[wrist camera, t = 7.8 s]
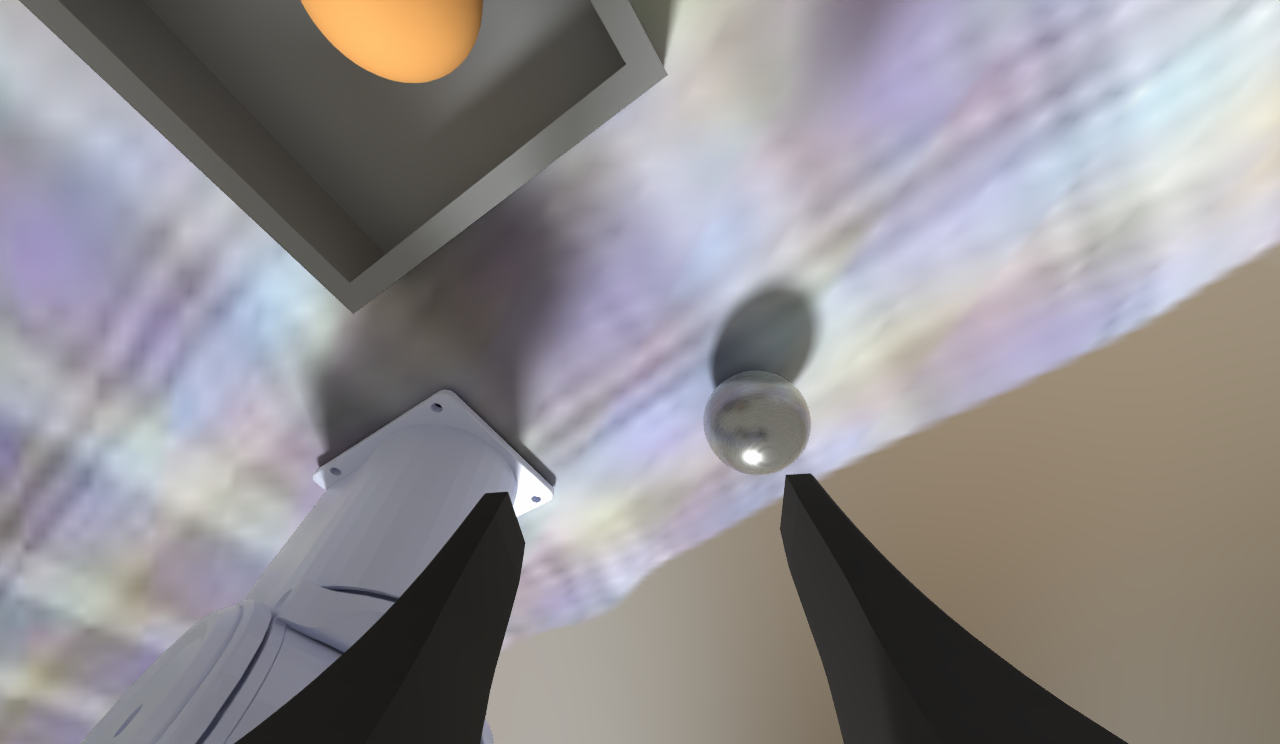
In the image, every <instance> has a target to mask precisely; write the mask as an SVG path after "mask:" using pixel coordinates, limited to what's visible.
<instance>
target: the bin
mask: <svg viewBox="0 0 1280 744" xmlns="http://www.w3.org/2000/svg"><path fill="white" fill-rule="evenodd" d="M19 1H20V2H21V3H22V4H23V5H25V6H26V7H27V8H28V9H29V10H30V11H31V12H32V13H33V14H34V15H35V16H36V17H37V18H38V19H39V20H41V21H42V22H43V23H44V24H45V25H46V26H47V27H48V28H49V29H50V30H51V31H52V32H53V33H54V34H55V35H57V36H58V37H59V38H60V39H61V40H62V41H63V42H64V43H65V44H66V45H67V46H68V47H69V48H70V49H71V50H73V51H74V52H75V53H76V54H77V55H78V56H79V57H80V58H81V59H82V60H83V61H84V62H85V63H86V64H87V65H89V66H90V67H91V68H92V69H93V70H94V71H95V72H96V73H97V74H98V75H99V76H100V77H101V78H102V79H103V80H105V81H106V82H107V83H108V84H109V85H110V86H111V87H112V88H113V89H114V90H115V91H116V92H117V93H118V94H119V95H121V96H122V97H123V98H124V99H125V100H126V101H127V102H128V103H129V104H130V105H131V106H132V107H133V108H134V109H135V110H137V111H138V112H139V113H140V114H141V115H142V116H143V117H144V118H145V119H146V120H147V121H148V122H149V123H150V124H151V125H153V126H154V127H155V128H156V129H157V130H158V131H159V132H160V133H161V134H162V135H163V136H164V137H165V138H166V139H167V140H169V141H170V142H171V143H172V144H173V145H174V146H175V147H176V148H177V149H178V150H179V151H180V152H181V153H182V154H183V155H185V156H186V157H187V158H188V159H189V160H190V161H191V162H192V163H193V164H194V165H195V166H196V167H197V168H198V169H199V170H201V171H202V172H203V173H204V174H205V175H206V176H207V177H208V178H209V179H210V180H211V181H212V182H213V183H214V184H215V185H216V186H218V187H219V188H220V189H221V190H222V191H223V192H224V193H225V194H226V195H227V196H228V197H229V198H230V199H231V200H232V201H234V202H235V203H236V204H237V205H238V206H239V207H240V208H241V209H242V210H243V211H244V212H245V213H246V214H247V215H248V216H250V217H251V218H252V219H253V220H254V221H255V222H256V223H257V224H258V225H259V226H260V227H261V228H262V229H263V230H264V231H266V232H267V233H268V234H269V235H270V236H271V237H272V238H273V239H274V240H275V241H276V242H277V243H278V244H279V245H280V246H282V247H283V248H284V249H285V250H286V251H287V252H288V253H289V254H290V255H291V256H292V257H293V258H294V259H295V260H296V261H298V262H299V263H300V264H301V265H302V266H303V267H304V268H305V269H306V270H307V271H308V272H309V273H310V274H311V275H312V276H314V277H315V278H316V279H317V280H318V281H319V282H320V283H321V284H322V285H323V286H324V287H325V288H326V289H327V290H328V291H330V292H331V293H332V294H333V295H334V296H335V297H336V298H337V299H338V300H339V301H340V302H341V303H342V304H343V305H344V306H346V307H347V308H348V309H349V310H350V311H351V312H352V313H353V314H354V313H355V312H356V311H358V310H359V309H360V308H362V307H363V306H364V305H366V304H367V303H368V302H370V301H371V300H372V299H374V298H375V297H376V296H377V295H379V294H380V293H381V292H383V291H384V290H385V289H387V288H388V287H389V286H391V285H392V284H393V283H395V282H396V281H397V280H399V279H400V278H401V277H402V276H404V275H405V274H406V273H408V272H409V271H410V270H412V269H413V268H414V267H416V266H417V265H418V264H420V263H421V262H422V261H423V260H425V259H426V258H427V257H429V256H430V255H431V254H433V253H434V252H435V251H437V250H438V249H439V248H441V247H442V246H443V245H445V244H446V243H447V242H448V241H450V240H451V239H452V238H454V237H455V236H456V235H458V234H459V233H460V232H462V231H463V230H464V229H466V228H467V227H468V226H470V225H471V224H472V223H473V222H475V221H476V220H477V219H479V218H480V217H481V216H483V215H484V214H485V213H487V212H488V211H489V210H491V209H492V208H493V207H495V206H496V205H497V204H498V203H500V202H501V201H502V200H504V199H505V198H506V197H508V196H509V195H510V194H512V193H513V192H514V191H516V190H517V189H518V188H520V187H521V186H522V185H523V184H525V183H526V182H527V181H529V180H530V179H531V178H533V177H534V176H535V175H537V174H538V173H539V172H541V171H542V170H543V169H545V168H546V167H547V166H548V165H550V164H551V163H552V162H554V161H555V160H556V159H558V158H559V157H560V156H562V155H563V154H564V153H566V152H567V151H568V150H570V149H571V148H572V147H573V146H575V145H576V144H577V143H579V142H580V141H581V140H583V139H584V138H585V137H587V136H588V135H589V134H591V133H592V132H593V131H595V130H596V129H597V128H598V127H600V126H601V125H602V124H604V123H605V122H606V121H608V120H609V119H610V118H612V117H613V116H614V115H616V114H617V113H618V112H620V111H621V110H622V109H623V108H625V107H626V106H627V105H629V104H630V103H631V102H633V101H634V100H635V99H637V98H638V97H639V96H641V95H642V94H643V93H645V92H646V91H647V90H648V89H650V88H651V87H652V86H654V85H655V84H656V83H658V82H659V81H660V80H662V79H663V78H664V77H666V76H667V75H668V74H667V72H666V71H665V69H664V67H663V65H662V63H661V61H660V59H659V57H658V55H657V53H656V51H655V50H654V48H653V46H652V44H651V42H650V40H649V38H648V36H647V34H646V32H645V31H644V29H643V27H642V25H641V23H640V21H639V19H638V17H637V15H636V13H635V12H634V10H633V8H632V6H631V4H630V2H629V0H483V11H482V20H481V26H480V30H479V34H478V37H477V40H476V42H475V44H474V46H473V48H472V50H471V52H470V53H469V55H468V56H467V58H466V59H465V60H464V61H463V62H462V63H461V65H460V66H458V67H457V68H456V69H455V70H453V71H452V72H451V73H449V74H447V75H446V76H444V77H442V78H439V79H436V80H433V81H429V82H423V83H403V82H398V81H393V80H389V79H386V78H383V77H380V76H378V75H376V74H374V73H371V72H369V71H367V70H365V69H364V68H362V67H360V66H359V65H357V64H355V63H354V62H353V61H351V60H350V59H349V58H347V57H346V56H345V55H343V54H342V53H341V52H340V51H339V50H338V49H337V48H336V47H334V46H333V45H332V43H331V42H330V41H329V40H328V39H327V38H326V37H325V36H324V35H323V34H322V32H321V31H320V30H319V28H318V27H317V26H316V25H315V23H314V22H313V20H312V19H311V17H310V16H309V14H308V13H307V11H306V9H305V8H304V6H303V4H302V2H301V0H19Z"/></svg>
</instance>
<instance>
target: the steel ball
mask: <svg viewBox="0 0 1280 744" xmlns="http://www.w3.org/2000/svg"><path fill="white" fill-rule="evenodd" d="M810 430H811V418H810V412H809V409H808V406H807V404H806V401H805V399H804V398H803V396H802V395H801V393H800V392H799V390H798V389H797V388H796V387H795V386H794V385H793V384H792V383H790V382H789V381H788V380H786V379H784V378H783V377H781V376H779V375H777V374H774V373H770V372H766V371H755V370H753V371H746V372H741V373H738V374H736V375H733V376H731V377H729V378H728V379H726V380H725V381H723V382H722V383H721V384H720V385H719V386H718V387H717V388H716V389H715V390H714V392H713V393H712V394H711V396H710V398H709V400H708V402H707V405H706V408H705V412H704V431H705V435H706V438H707V441H708V443H709V445H710V447H711V449H712V450H713V452H714V453H715V454H716V456H717V457H718V458H719V459H720V460H721V461H722V462H723V463H725V464H726V465H727V466H729V467H731V468H732V469H735V470H737V471H739V472H742V473H745V474H751V475H767V474H772V473H775V472H778V471H781V470H783V469H785V468H786V467H788V466H789V465H791V464H792V463H793V462H794V461H795V460H796V459H797V458H798V457H799V456H800V455H801V454H802V452H803V450H804V449H805V447H806V445H807V442H808V439H809V435H810Z"/></svg>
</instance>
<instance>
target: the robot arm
mask: <svg viewBox="0 0 1280 744" xmlns="http://www.w3.org/2000/svg"><path fill="white" fill-rule="evenodd" d="M434 403H437V404H440V405H441V406H442V408H440V407H437V406H436V405H435V404H434ZM313 480H314V481H315V482H316V483H317V484H318V485H320V486H321V487H322V488H324V489H325V490H326V491H325V493H324V494H323V495H322V497H321V498H320V499H319V501H318V502H317V503H316V505H315V506H314V507H313V508H312V510H311V511H310V512H309V514H308V515H307V516H306V518H305V519H304V520H303V522H302V523H301V524H300V525H299V527H298V528H297V529H296V531H295V532H294V533H293V535H292V536H291V537H290V539H289V540H288V541H287V542H286V544H285V545H284V546H283V548H282V549H281V550H280V552H279V553H278V554H277V556H276V557H275V558H274V559H273V561H272V562H271V563H270V565H269V566H268V567H267V569H266V570H265V571H264V573H263V574H262V575H261V576H260V578H259V579H258V580H257V582H256V583H255V585H254V586H253V588H252V589H251V591H250V593H249V594H248V596H247V598H246V600H245V601H242V602H240V603H238V604H236V605H235V606H231V607H228V608H224V609H221V610H218V611H215V612H212V613H210V614H209V615H207V616H206V617H204V618H203V619H201V620H200V621H199V622H197V623H196V624H195V625H194V626H193V627H191V628H190V629H189V630H188V631H187V632H186V633H185V634H183V635H182V636H181V637H180V638H179V639H178V640H177V641H176V642H175V643H174V644H173V645H172V646H171V647H169V648H168V649H167V650H166V651H165V652H164V653H163V654H162V655H161V656H160V657H159V658H158V659H157V660H156V661H155V662H154V663H153V664H152V665H151V666H150V667H149V668H148V669H147V670H146V671H145V672H144V674H143V675H142V676H141V677H140V678H139V679H138V680H137V681H136V682H135V683H134V684H133V685H132V686H131V687H130V688H129V689H128V690H127V692H126V693H125V694H124V695H123V696H122V697H121V698H120V699H119V700H118V701H117V702H116V703H115V705H114V706H113V707H112V708H111V709H110V710H109V711H108V712H107V713H106V715H105V716H104V717H103V718H102V719H101V720H100V721H99V723H98V724H97V725H96V726H95V727H94V728H93V729H92V731H91V732H90V733H89V734H88V735H87V736H86V738H85V739H84V740H83V741H82V742H81V743H80V744H494V742H493V735H492V732H491V729H490V726H489V724H488V722H487V721H486V719H485V715H486V710H487V704H488V699H489V693H490V689H491V684H492V680H493V676H494V672H495V668H496V665H497V661H498V657H499V654H500V650H501V647H502V643H503V640H504V636H505V632H506V629H507V625H508V622H509V618H510V614H511V611H512V607H513V603H514V600H515V596H516V592H517V588H518V585H519V580H520V574H521V568H522V562H523V555H524V547H525V541H524V538H523V535H522V532H521V529H520V526H519V523H518V520H517V517H518V516H520V515H522V514H524V513H526V512H528V511H530V510H532V509H534V508H536V507H538V506H539V505H541V504H543V503H545V502H547V501H549V500H551V499H552V498H553V495H554V488H553V487H552V486H551V485H550V484H549V483H548V482H547V481H546V480H545V479H544V478H543V477H542V476H541V475H540V474H539V473H538V472H537V471H535V470H534V469H533V468H532V467H531V466H530V465H529V464H528V463H527V462H526V461H525V460H524V459H523V458H522V457H521V456H520V455H519V454H518V453H517V452H516V451H515V450H514V449H513V448H511V447H510V446H509V445H508V444H507V443H506V442H505V441H504V440H503V439H502V438H501V437H500V436H499V435H498V434H497V433H496V432H495V431H494V430H493V429H492V428H491V427H490V426H489V425H487V424H486V423H485V422H484V421H483V420H482V419H481V418H480V417H479V416H478V415H477V414H476V413H475V412H474V411H473V410H472V409H471V408H470V407H469V406H468V405H467V404H466V403H465V402H463V401H462V400H461V399H460V398H459V397H458V396H457V395H456V394H455V393H454V392H452V391H450V390H441V391H438V392H437V393H435V394H434V395H432V396H431V397H429V398H428V399H426V400H424V401H423V402H421V403H420V404H418V405H417V406H415V407H414V408H412V409H410V410H409V411H407V412H406V413H404V414H403V415H401V416H400V417H398V418H396V419H395V420H393V421H392V422H390V423H389V424H387V425H385V426H384V427H382V428H381V429H379V430H378V431H376V432H375V433H373V434H371V435H370V436H368V437H367V438H365V439H364V440H362V441H361V442H359V443H357V444H356V445H354V446H353V447H351V448H350V449H348V450H347V451H345V452H343V453H342V454H340V455H339V456H337V457H336V458H334V459H333V460H331V461H329V462H328V463H326V464H325V465H323V466H322V467H320V468H319V469H317V471H316V472H315V473H314V474H313ZM535 495H536V496H539V497H535ZM780 531H781V535H782V539H783V544H784V548H785V553H786V557H787V561H788V565H789V568H790V572H791V575H792V578H793V580H794V583H795V586H796V589H797V592H798V595H799V598H800V600H801V603H802V606H803V609H804V612H805V615H806V617H807V620H808V623H809V626H810V629H811V631H812V634H813V637H814V640H815V643H816V645H817V648H818V651H819V654H820V656H821V660H822V663H823V666H824V669H825V672H826V676H827V679H828V683H829V686H830V690H831V694H832V698H833V702H834V706H835V710H836V713H837V717H838V721H839V725H840V729H841V733H842V737H843V741H844V744H1128V743H1127V742H1125V741H1123V740H1122V739H1120V738H1119V737H1117V736H1116V735H1114V734H1112V733H1111V732H1109V731H1108V730H1106V729H1105V728H1103V727H1102V726H1100V725H1098V724H1097V723H1095V722H1094V721H1092V720H1090V719H1089V718H1087V717H1086V716H1084V715H1083V714H1081V713H1080V712H1078V711H1076V710H1075V709H1073V708H1072V707H1070V706H1069V705H1067V704H1066V703H1064V702H1063V701H1061V700H1060V699H1058V698H1057V697H1056V696H1054V695H1053V694H1051V693H1050V692H1048V691H1047V690H1045V689H1044V688H1042V687H1041V686H1040V685H1038V684H1037V683H1035V682H1034V681H1032V680H1031V679H1029V678H1028V677H1027V676H1025V675H1024V674H1023V673H1021V672H1020V671H1019V670H1017V669H1016V668H1015V667H1013V666H1012V665H1011V664H1009V663H1008V662H1007V661H1005V660H1004V659H1003V658H1001V657H1000V656H999V655H997V654H996V653H994V651H992V650H991V649H990V648H988V647H987V646H986V645H984V644H983V643H982V642H980V641H979V640H978V639H976V638H975V637H973V636H972V635H971V634H970V633H969V632H968V631H966V630H965V629H964V628H963V627H961V626H960V625H959V624H958V623H957V622H955V621H954V620H953V619H952V618H951V617H949V616H948V615H947V614H946V613H945V612H943V611H942V610H941V609H940V608H939V607H938V606H936V605H935V604H934V603H933V602H932V601H931V600H930V599H928V598H927V597H926V596H925V595H924V594H923V593H922V592H921V591H920V590H919V589H917V588H916V587H915V586H914V585H913V584H912V583H911V582H910V581H909V580H908V579H907V578H906V577H905V576H903V575H902V573H901V572H900V571H898V570H897V569H896V568H895V567H894V566H893V565H892V564H891V563H890V562H889V561H888V560H887V559H886V558H885V557H884V556H883V555H882V554H881V553H880V552H879V551H878V549H876V547H875V546H874V545H873V544H872V543H871V542H870V541H869V540H868V539H867V538H866V537H865V536H864V535H863V533H861V531H860V530H859V529H858V528H857V527H856V526H855V525H854V524H853V523H852V521H851V520H850V519H849V518H848V517H847V516H846V515H845V513H844V512H843V511H842V510H841V509H840V508H839V506H838V505H837V504H836V503H835V502H834V501H833V500H832V498H831V497H830V496H829V495H828V493H827V492H826V491H825V490H824V489H823V487H822V486H821V485H820V484H819V482H818V481H817V480H816V479H815V477H814V476H813V475H811V474H794V475H786V479H785V488H784V497H783V507H782V517H781V526H780Z"/></svg>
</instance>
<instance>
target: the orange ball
mask: <svg viewBox="0 0 1280 744" xmlns="http://www.w3.org/2000/svg"><path fill="white" fill-rule="evenodd" d="M301 2H302V4H303V6H304V8H305V9H306V11H307V13H308V14H309V16H310V17H311V19H312V20H313V22H314V23H315V25H316V26H317V27H318V28H319V30H320V31H321V32H322V34H323V35H324V36H325V37H326V38H327V39H328V40H329V41H330V42H331V43H332V45H333V46H334V47H336V48H337V49H338V50H339V51H340V52H341V53H342V54H343V55H345V56H346V57H347V58H349V59H350V60H351V61H353V62H354V63H355V64H357V65H359V66H360V67H362V68H364V69H365V70H367V71H369V72H371V73H374V74H376V75H378V76H380V77H383V78H386V79H389V80H393V81H398V82H403V83H423V82H429V81H433V80H436V79H439V78H442V77H444V76H446V75H447V74H449V73H451V72H452V71H453V70H455V69H456V68H457V67H458V66H460V65H461V63H462V62H463V61H464V60H465V59H466V58H467V56H468V55H469V53H470V52H471V50H472V48H473V46H474V44H475V42H476V40H477V37H478V34H479V30H480V26H481V20H482V11H483V0H301Z"/></svg>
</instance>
